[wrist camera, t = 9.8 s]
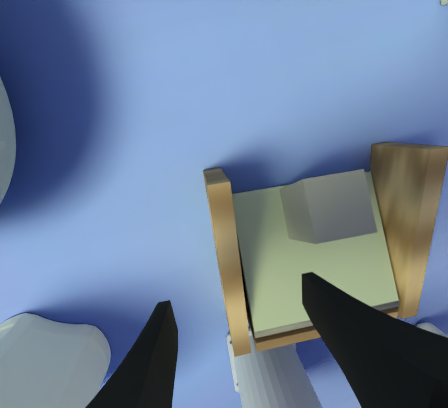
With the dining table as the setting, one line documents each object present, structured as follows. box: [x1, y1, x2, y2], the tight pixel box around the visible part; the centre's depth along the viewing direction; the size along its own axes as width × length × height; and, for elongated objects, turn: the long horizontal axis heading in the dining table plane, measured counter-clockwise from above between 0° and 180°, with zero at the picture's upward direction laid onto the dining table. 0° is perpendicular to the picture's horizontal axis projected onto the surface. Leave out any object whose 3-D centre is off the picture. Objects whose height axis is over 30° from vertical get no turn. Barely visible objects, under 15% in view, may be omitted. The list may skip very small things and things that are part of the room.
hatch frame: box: [203, 142, 448, 357], centre depth 20 cm, size 15×17×6 cm
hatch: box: [232, 171, 400, 338], centre depth 20 cm, size 12×13×1 cm
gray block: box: [279, 169, 377, 244], centre depth 18 cm, size 4×4×5 cm
